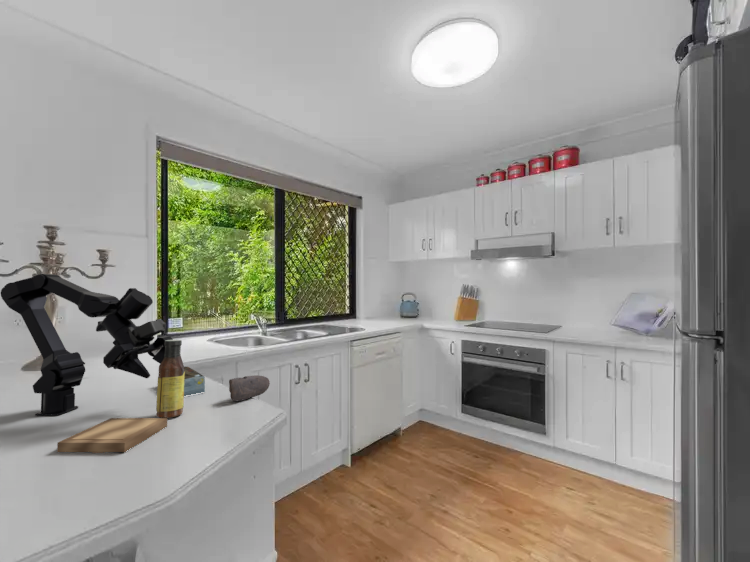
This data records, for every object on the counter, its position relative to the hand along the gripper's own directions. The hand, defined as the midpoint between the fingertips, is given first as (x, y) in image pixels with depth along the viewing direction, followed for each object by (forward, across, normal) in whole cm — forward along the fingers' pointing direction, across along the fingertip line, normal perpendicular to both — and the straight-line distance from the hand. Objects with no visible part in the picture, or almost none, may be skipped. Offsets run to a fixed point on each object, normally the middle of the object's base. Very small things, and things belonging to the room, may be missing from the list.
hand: (161, 372), depth 92 cm
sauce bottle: (+10, 0, +7) cm, 12 cm away
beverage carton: (+1, +24, +16) cm, 29 cm away
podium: (+8, -14, +8) cm, 18 cm away
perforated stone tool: (+19, +18, -3) cm, 27 cm away
